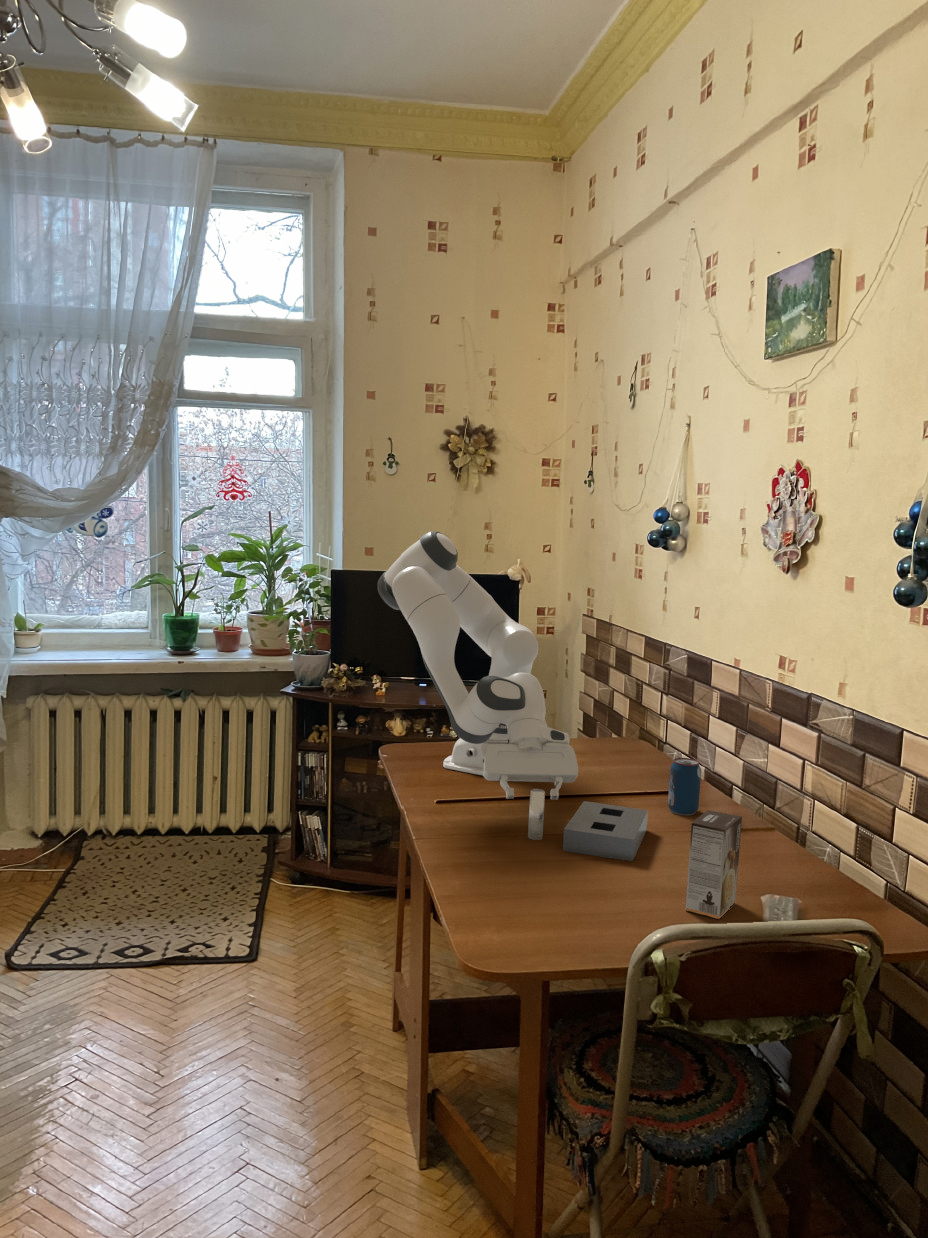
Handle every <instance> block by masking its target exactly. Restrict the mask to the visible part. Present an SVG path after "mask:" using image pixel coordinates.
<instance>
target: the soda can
mask: <svg viewBox="0 0 928 1238" xmlns="http://www.w3.org/2000/svg"><path fill="white" fill-rule="evenodd" d="M670 765H671V766H670V770H669V784H668V797H667V799H668V800H667V806H668V809H669V810H670V812H671V813H673V814H676V815H679V816H694V815H695V814H696V812H697V811H698V809H699V806H700V805H699V804H700V794H701V781H702V780H701V777H702V769H701V766H700V762H699V760H697V759H694V758H690V757H689V758H688V757H675V758H674V759H673V762H672V764H670ZM693 814H694V815H693Z"/></svg>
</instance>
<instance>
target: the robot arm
mask: <svg viewBox="0 0 928 1238" xmlns="http://www.w3.org/2000/svg"><path fill="white" fill-rule="evenodd" d="M458 555H459V554H458V549H457V548H456V546H455V544H454V543H453V542H452V540H451V539H450V538H449V537H448V536H447V535H445V534H443V533H442V532H440V531H435V530H434V531H433V530H432V531H429V532H427V533H424V534H423V535H421V536H420V538H419V540H417V541H415V542H414V543H413V544H411V545H410V546H409V547H407V548H406V550H404V551H403V552H402V553H401V554H400V556H399V557H398V558H397V559H396V560H395V561H394V562H393V563H392V565H390V567H389V568H388V569H387V570H386V571H384V572H383V573H382V574H381V576H380V577H379V578H378V581H377V592H378V594H379V596H380V598H381V599H382V600H383V602H384V603H385V604H386V605H387V606H388V607H390V608H392V609H393V610H396V611H400V612H401V613H402V616H403V617H404V619H405V620H406V622H407V623H408V625H409V626H410V628H411V630H412V631H413V634H414V636H415V638H416V641H417V642H418V646H419V648H420V652H421V658H422V660H423V665H424V667H425V669H426V671H427V672H428V675H429V676H430V679H431V681H432V682H433V685H434V687H435V688H436V691H437V692H438V694H439V696H440V698H441V700H442V702H443V704H444V707H445V709H446V711H447V714H448V717H449V722H450V726H451V729H452V730H453V732H454V733H455V734H456V736H457V737H458V739H457V740H456V741H455V744H454V745H453V748H452V753H451V755H448V756H447V757H446V758H444V760H443V764H442V765H443V767H444V769H448V770H454V771H458V772H462V773H469V774H473V775H478V776H482V777H483V778H484V779H485V780H486V781H489V782H490V781H493V782H494V781H495V782H499V785H500V786H501V788H502V789H503V790H504V792H505V796H506V797H505V798H506V799H507V800H508V799H509V800H510V799H513V800H514V797H515V788H514V787H510V786H509V784H508V782H530V783H531V782H534V783H536V782H537V783H553V784H554V788H551V789H550V791H549V792H550V793H549V794H550V800H553V801H554V800H555V801H556V800H557V801H558V800H559V796H560V793H559V791H560V789H561V787H562V785H563V783H574V782H575V781H576V780H577V777H578V775H579V765H578V760H577V755H576V752H575V749H574V748H573V747H572V746H571V745H570V741H571V740H570V739H571V738H570V734H568V733H566V732H564V731H561V730H557V729H555V728H552V727H549V726H548V724H547V722H546V718H545V717H546V712H547V709H546V701H545V695H544V691H543V687H542V685H541V682H540V681H539V679H538V678H537V677H536V676H534V675H533V674H532V670H533V665H534V661H535V660H536V658H537V656H538V654H539V647H540V646H539V642H538V639H537V638H536V636H535V634H534V633H533V631H532V630H531V629H530V628H528V627H527V626H525V625H523V624H520V623H519V622H516V621H515V620H514V619H512V618H511V617H510V616H509V615H508V613H506V612H505V611H504V610H503V609H502V608H501V606H500V605H499V604H498V603H497V602H496V601H495V600H494V598H493V597H492V595H491V594H489V593H488V592H487V590H486V589H484V588H483V587H482V585H480V584H479V583H478V582H477V581H476V580H475V579H474V578H473V577H472V576H471V575H470V574H468V573H467V572H466V571H465V570H464V569H463V568H461V567H460V566H459V565H458V564H457V562H458V557H459V556H458ZM460 630H463V631H464V632H465V633H466V635H468V636H469V637H470V638H471V639H472V641H473V642H475V644H477V645H478V647H479V648H480V649H482V651H484V652H485V654H486V655H488V656H489V657H490V658H491V661H490V662H491V663H490V669H489V673H488V675H486V676H483V677H482V678H480V679H479V680H478V681H477V682H476V683H475V685H474V686H473V687H472V688H471V690H470V691H468V690H467V687H466V686H465V683H464V682H463V680H462V677H461V676H460V674H459V672H458V670H457V668H456V663H455V651H456V644H457V642H458V637H459V634H460Z"/></svg>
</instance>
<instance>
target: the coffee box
mask: <svg viewBox="0 0 928 1238" xmlns="http://www.w3.org/2000/svg"><path fill="white" fill-rule="evenodd" d="M742 819H743V816H741V815H736V814H730V813H726V812H721V811H715V810H710V809H709V810H708V809H707V810H706V811H705V812H703V813H702V814H701V815H700V816H698V817H697V818H696V819H694V820H693V821H692V822H691V823H690V825H691V827H690V840H689V841H690V842H689V852H688V853H689V855H688V869H687V883H686V884H687V885H686V897H685V909H686V908H689V909H693V910H697V911H701V912H704V913H709V914H713V915H717V916H721V915H722V914H723V913H724V912H725V911H726V910H727V909H728V908H729V907H730V906H731V905H732V904H733V903H734V902H735V900H736V901H737V887H738V886H737V885H738V873H739V862H740V861H739V860H740V849H741V833H742V821H743V820H742ZM735 903H736V902H735Z"/></svg>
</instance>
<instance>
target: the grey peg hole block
mask: <svg viewBox="0 0 928 1238" xmlns="http://www.w3.org/2000/svg"><path fill="white" fill-rule="evenodd" d="M648 813H649V810H648V809H642V808H634V807H629V806H622V805H621V806H620V805H615V804H614V805H613V804H607V803H600V802H594V801H593V802H592V801H585V800H583V801H582V802H581V804H580V806H579V807H578V809H577V810H576V812H575V813H574V814H573V816H572V817H571V818H570V820H569V821H568V823H567V824H566V826H564V829H563V840H562V841H563V843H562V851H563V852H569V853H576V854H581V855H589V856H594V857H600V858H606V859H607V858H608V859H612V858H613V860H619V859H621V860H620V861H625V860H628V861H627V862H631V861H633V862H634V860H635V858H634V857H636V855H637V853H638V851H637V850H639V849H640V846H641V844H642V842H643V839H644V837H645V835H646V832H647V829H648V828H647V827H648V818H649V817H648V816H649V815H648ZM641 841H642V842H641ZM638 848H639V849H638ZM633 859H634V860H633Z"/></svg>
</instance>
